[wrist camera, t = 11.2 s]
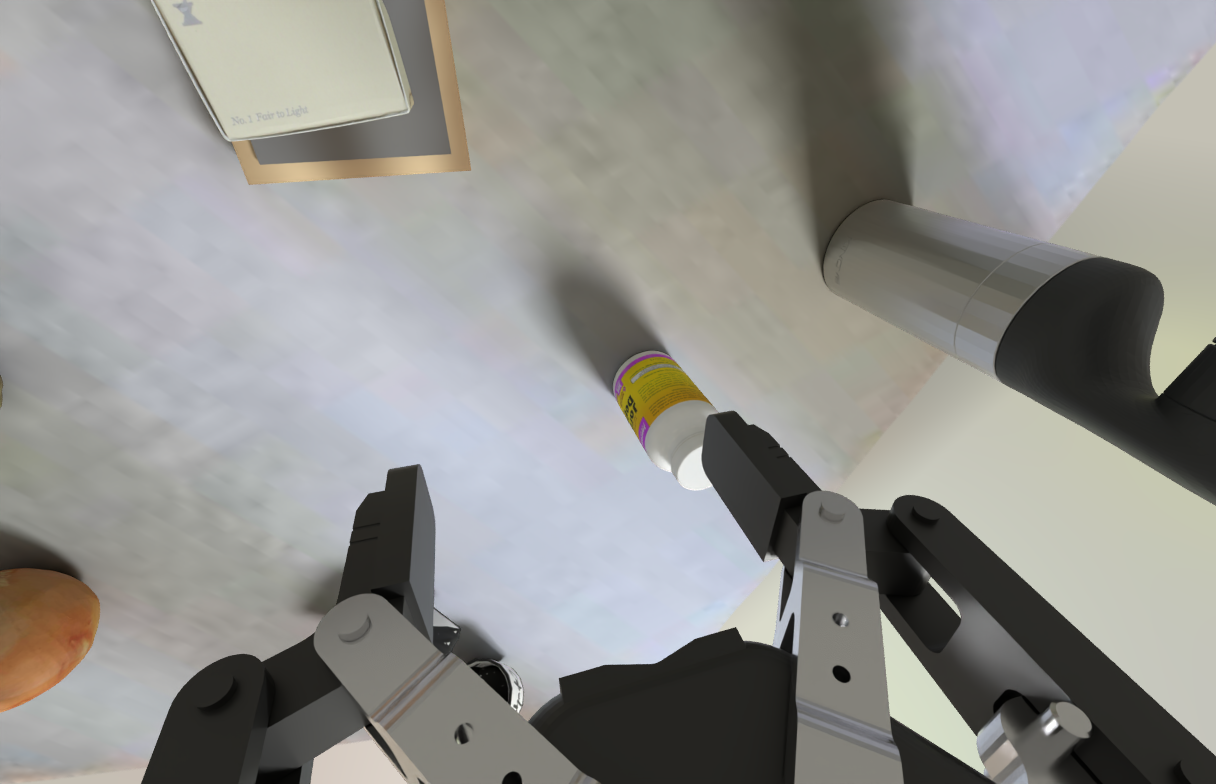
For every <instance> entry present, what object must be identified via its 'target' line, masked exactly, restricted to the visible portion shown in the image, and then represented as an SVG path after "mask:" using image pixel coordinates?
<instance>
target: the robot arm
mask: <svg viewBox="0 0 1216 784" xmlns="http://www.w3.org/2000/svg"><path fill="white" fill-rule="evenodd" d="M823 269H824V278H825V281H826V284H827V286H828V287H829V289H830V290H831V291H832V292H833V293H835V294H836V295H838V296H840V297H842V298H844V299H845V300H847V301H849V302H851V303H853V304H855V305H857V306H859V307H860V308H862V309H864V310H866V311H868V312H869V313H871V314H873V315H875V316H877V317H879V318H881V319H883V320H884V321H886V322H888V323H890V324H892V325H894V326H896V327H898V328H899V329H901V330H903V331H905V332H907V333H909V334H911V335H913V336H914V337H916V338H918V339H920V340H922V341H924V342H926V343H928V344H929V345H931V346H933V347H935V348H937V349H939V350H941V351H943V352H944V353H946V354H948V355H950V356H952V357H954V358H956V359H958V360H959V361H961V362H963V363H966V364H968V365H970V366H971V367H973V368H975V369H977V370H979V371H981V372H982V373H984V374H986V375H988V376H990V377H992V378H994V379H996V380H997V381H999V382H1001V383H1003V384H1005V385H1007V386H1008V387H1010V388H1012V389H1014V390H1016V391H1018V392H1020V393H1022V394H1024V395H1026V396H1027V397H1030V398H1031V399H1033V400H1035V401H1036V402H1038V403H1040V404H1042V405H1043V406H1045V407H1047V408H1049V409H1051V410H1052V411H1054V412H1056V413H1058V414H1060V415H1062V416H1064V417H1065V418H1067V419H1069V420H1071V421H1073V422H1075V423H1077V424H1078V425H1080V426H1082V427H1084V428H1086V429H1087V430H1089V431H1091V432H1092V433H1094V434H1096V435H1097V436H1099V437H1101V438H1103V439H1104V440H1106V441H1108V442H1110V443H1111V444H1113V445H1115V446H1117V447H1118V448H1120V449H1121V450H1123V451H1125V452H1126V453H1128V454H1129V455H1131V456H1133V457H1135V458H1136V459H1138V460H1140V461H1141V462H1143V463H1144V464H1146V465H1148V466H1149V467H1151V468H1153V469H1154V470H1156V471H1158V472H1159V473H1161V474H1162V475H1164V476H1166V477H1167V478H1169V479H1171V480H1172V481H1174V482H1176V483H1177V484H1179V485H1181V486H1182V487H1184V488H1186V489H1187V490H1189V491H1191V492H1193V493H1194V494H1196V495H1198V496H1200V497H1202V498H1203V499H1205V500H1207V501H1209V502H1210V503H1212V504H1214V505H1216V344H1215V345H1213V344H1208V345H1207V346H1206V348H1205V349H1204V350H1203V351H1202V352H1201V353H1200V354H1199V355H1198V356H1197V357H1196V358H1195V359H1194V360H1193V361H1192V362H1191V363H1190V364H1189V365H1188V367H1186V369H1185V370H1184V371H1183V372H1182V373H1181V374H1180V375H1179V376H1178V377H1177V378H1176V379H1175V380H1174V381H1173V382H1172V383H1171V384H1170V385H1169V386H1168V388H1166V390H1165V391H1164V393H1162V394H1161V395H1160V396H1158V395H1157V394H1156V392H1155V390H1154V388H1153V386H1152V382H1151V377H1150V355H1151V349H1152V345H1153V341H1154V337H1155V334H1156V331H1157V328H1158V324H1159V320H1160V318H1161V315H1162V311H1163V305H1164V291H1163V287H1162V284H1161V282H1160V280H1158V278H1157V277H1156V276H1155V275H1154V274H1152V273H1151V272H1149V271H1147V270H1145V269H1143V268H1141V267H1138V266H1134V265H1131V264H1128V263H1124V262H1120V261H1116V260H1113V259H1109V258H1104V257H1101V256H1097V255H1093V254H1090V253H1086V252H1082V251H1079V250H1075V249H1071V248H1067V247H1063V246H1060V245H1056V244H1051V243H1048V242H1044V241H1040V240H1037V239H1033V238H1029V237H1025V236H1022V235H1018V234H1014V233H1010V232H1007V231H1003V230H999V229H995V228H992V227H988V226H984V225H980V224H977V223H973V222H969V221H966V220H962V219H958V218H954V217H951V216H947V215H943V214H939V213H936V212H932V211H929V210H925V209H922V208H918V207H914V206H910V205H906V204H903V203H899V202H895V201H891V200H886V199H884V200H876V201H873V202H870V203H867V204H865V205H863V206H862V207H860V208H858V209H857V210H855V211H854V212H853V213H852V214H851V215H849V216H848V217H847V218H846V219H845V221H844V222H843V223H842V224H841V225H840V226H839V228H838V229H837V231H836V232H835V234H834V235H833V237H832V239H831V241H830V243H829V245H828V248H827V251H826V254H825V259H824V265H823ZM1213 342H1214V343H1216V337H1215V338H1214V339H1213ZM701 460H702V466H703V469H704V472H705V474H706V476H707V478H708V479H709V481H710V482H711V484H712V485H713V487H714V488H715V490H716V491H717V493H718V494H719V496H720V497H721V499H722V500H723V502H724V503H725V505H726V506H727V508H728V509H729V511H730V512H731V514H732V515H733V517H734V518H735V520H736V521H737V523H738V524H739V526H740V527H741V529H742V530H743V532H744V533H745V535H746V536H747V538H748V539H749V541H750V542H751V544H752V545H753V547H754V548H755V550H756V552H757V553H758V555H759V556H760V558H761V559H762V561H763V562H767V561H771V560H775V559H780V561H781V562H782V563H783V568H782V572H781V581H780V592H779V601H778V611H777V620H776V630H775V636H774V642H773V646H771V645H767V644H763V643H759V642H752V641H743V640H742V638H741V636H740V634H739V632H738V630H737V629H736V627H735V628H731V629H728V630H725V631H721V632H718V633H714V634H711V635H707V636H704V637H700V638H697V639H694V640H693V641H691V642H690V643H688V644H687V645H685V646H683V647H682V648H680V649H679V650H677V651H676V652H674V653H673V654H671V655H669V656H668V657H666V658H665V659H663V660H662V661H660V662H658V663H655V664H631V665H603V666H600V667H596V668H593V669H590V670H586V671H583V672H579V673H576V674H572V675H569V676H565V677H562V678H559V684H560V694H559V695H557V696H555V697H554V698H552V699H551V700H550V701H548V702H547V703H546V704H545V705H543V706H542V707H541V708H540V709H539V710H538V711H537V712H536V713H535V714H534V715H533V716H532V717H531V719H530V720H529V721H528V722H527V721H526V720H525V719H524V718H523V717H522V716H521V715H520V714H519V713H518V712H517V711H516V710H515V709H514V708H512V707H511V706H510V705H509V704H508V703H507V702H506V701H505V700H504V699H503V698H502V697H501V696H500V695H499V694H498V693H496V692H495V691H494V690H493V689H492V688H491V687H490V686H489V685H488V684H487V683H486V682H485V681H484V680H483V679H482V678H481V677H479V676H478V675H477V674H476V673H475V672H474V671H473V670H472V669H471V668H470V667H469V666H468V665H467V664H466V663H465V662H463V661H462V660H461V659H460V658H459V657H458V656H456V655H455V654H453V653H451V652H448V653H447V654H446V655H445V654H443V653H442V652H440V651H439V650H438V649H437V648H436V647H435V646H434V645H433V614H434V570H435V518H434V511H433V506H432V503H431V499H430V495H429V492H428V488H427V485H426V481H425V477H424V474H423V470H422V467H421V465H420V464H417V465H411V466H406V467H400V468H394V469H389V470H388V474H387V480H386V487H385V491H381V492H375V493H370V494H368V495H367V497H366V498H365V499H364V501H363V502H362V503H361V505H360V506H359V508H358V509H357V510H356V515H355V519H354V524H353V531H352V534H351V539H350V546H349V548H348V553H347V558H346V563H345V567H344V572H343V577H342V582H341V586H340V591H339V596H338V600H337V604H336V606H334V607H333V608H332V609H331V610H330V611H329V612H328V613H327V614H326V615H325V616H324V617H323V619H322V620H321V621H320V623H319V625H318V627H317V629H316V631H315V633H313V634H312V635H311V636H309V637H308V638H306V639H305V640H303V641H302V642H300V643H298V644H296V645H294V646H292V647H290V648H288V649H286V650H284V651H283V652H281V653H279V654H277V655H275V656H273V657H271V658H269V659H267V660H265V661H263V662H261V661H260V660H259V659H258V658H256V657H255V656H252V655H248V654H237V655H232V656H228V657H225V658H223V659H220V660H218V661H216V662H214V663H212V664H210V665H209V666H207V667H205V668H204V669H203V670H201V671H200V672H198V673H197V674H196V675H195V676H194V677H193V678H191V679H190V680H189V681H188V682H187V683H186V684H185V685H184V686H183V688H182V689H181V690H180V692H179V693H178V694H177V696H176V697H175V699H174V700H173V702H172V705H171V707H170V709H169V711H168V714H167V717H166V719H165V722H164V725H163V727H162V730H161V733H160V735H159V738H158V740H157V743H156V746H155V748H154V751H153V754H152V756H151V759H150V761H149V764H148V767H147V769H146V772H145V775H144V778H143V780H142V783H141V784H310V782H311V773H312V767H313V760H314V758H315V757H317V756H318V755H320V754H321V753H323V752H325V751H326V750H328V749H329V748H331V747H333V746H334V745H336V744H337V743H339V742H341V741H342V740H344V739H345V738H347V737H349V736H350V735H352V734H354V733H355V732H357V731H358V730H360V729H362V728H364V730H365V731H366V732H367V733H368V735H369V736H370V737H371V738H372V740H373V741H374V742H375V743H376V745H377V746H378V747H379V748H380V750H381V751H382V752H383V753H384V755H385V756H386V757H387V758H388V759H389V761H390V762H391V763H392V764H393V766H394V767H395V768H396V770H397V771H398V772H399V773H400V775H401V776H402V777H403V778H404V780H405V781H406V782H407V783H408V784H1216V756H1215V755H1214V754H1213V753H1212V752H1211V751H1209V750H1208V749H1207V748H1206V747H1205V746H1204V745H1203V744H1202V743H1201V742H1200V741H1199V740H1197V739H1196V738H1195V737H1194V736H1193V735H1192V734H1191V733H1190V732H1189V731H1188V730H1187V729H1185V728H1184V727H1183V726H1182V725H1181V724H1180V723H1179V722H1178V721H1177V720H1176V719H1175V718H1173V717H1172V716H1171V715H1170V714H1169V713H1168V712H1167V711H1166V710H1165V709H1164V708H1163V707H1162V706H1160V705H1159V704H1158V703H1157V702H1156V701H1155V700H1154V699H1153V698H1152V697H1151V696H1150V695H1148V694H1147V693H1146V692H1145V691H1144V690H1143V689H1142V688H1141V687H1140V686H1139V685H1138V684H1137V683H1135V682H1134V681H1133V680H1132V679H1131V678H1130V677H1129V676H1128V675H1127V674H1126V673H1124V672H1123V671H1122V670H1121V669H1120V668H1119V667H1118V666H1117V665H1116V664H1115V663H1114V662H1113V661H1111V660H1110V659H1109V658H1108V657H1107V656H1106V655H1105V654H1104V653H1102V651H1101V650H1100V649H1098V648H1097V647H1096V646H1095V645H1094V644H1093V643H1092V642H1091V641H1090V640H1089V639H1088V638H1086V637H1085V636H1084V635H1083V634H1082V633H1081V632H1080V631H1079V630H1078V629H1077V628H1076V627H1075V626H1073V625H1072V624H1071V623H1070V622H1069V621H1068V620H1067V619H1066V618H1065V617H1064V616H1063V615H1061V614H1060V613H1059V612H1058V611H1057V610H1056V609H1055V608H1054V607H1053V606H1052V605H1051V604H1049V603H1048V602H1047V601H1046V600H1045V599H1044V598H1043V597H1042V596H1041V595H1040V594H1039V593H1038V592H1036V591H1035V590H1034V589H1033V588H1032V587H1031V586H1030V585H1029V584H1028V583H1027V582H1025V581H1024V580H1023V579H1022V578H1021V577H1020V576H1019V575H1018V574H1017V573H1016V572H1015V571H1014V570H1012V569H1011V568H1010V567H1009V566H1008V565H1007V564H1006V563H1005V562H1004V561H1003V560H1002V559H1000V558H999V557H998V556H997V555H996V554H995V553H994V552H993V551H992V550H991V549H990V548H989V547H987V546H986V545H985V544H984V543H983V542H982V541H981V540H980V539H978V537H977V536H975V535H974V534H973V533H972V532H971V531H970V530H969V529H968V528H967V527H966V526H965V525H963V524H962V523H961V522H960V521H959V520H958V519H957V518H956V517H955V516H954V515H953V514H952V513H950V512H949V511H948V510H947V509H946V508H945V507H943V506H941V505H940V504H938V503H936V502H934V501H932V500H930V499H927V498H924V497H920V496H915V495H905V496H901V497H899V498H897V499H896V500H895V501H894V503H893V505H892V508H891V510H875V509H859V508H858V507H857V506H856V505H855V504H854V503H853V502H852V501H851V500H849V499H847V498H846V497H844V496H842V495H840V494H837V493H834V492H830V491H822V490H821V489H820V488H819V487H818V486H817V485H816V484H815V483H814V482H813V481H812V480H811V478H810V477H809V476H808V475H807V474H806V473H805V472H804V471H803V470H802V469H801V468H800V467H799V465H798V464H797V463H796V462H795V461H794V460H793V459H792V458H791V457H789V456H788V454H787V452H786V451H785V450H784V449H783V448H780V445H779V444H778V443H777V442H776V441H775V439H774V438H773V437H772V436H771V435H770V434H769V433H767V432H766V431H764V430H762V429H760V428H759V427H757V426H755V425H754V424H752V425H747V423H746V422H745V421H744V420H743V419H742V418H741V417H740V416H739V414H738V413H737V412H735V411H728V412H722V413H716V414H710V415H709V416H708V417H707V419H706V425H705V432H704V439H703V447H702V454H701ZM930 577H932V578H933V579H934V580H935V581H936V582H937V584H938V585H939V586H940V587H941V588H942V589H943V590H944V591H945V592H946V593H947V595H948V596H949V597H950V598H951V599H952V600H953V601H954V602H955V604H956V605H957V607H958V609H959V611H960V615H961V618H960V617H959V616H958V615H957V614H956V613H955V611H954V610H953V609H952V608H951V607H950V606H949V605H948V604H947V603H946V601H945V600H944V599H943V598H942V597H941V596H940V595H939V593H938V592H937V591H936V590H935V589H934V588H933V587H932V586H931V585H930V583H929V582H928V581H929V579H930ZM880 609H881V610H882V612H883V613H884V614H885V616H886V617H887V618H888V620H889V621H890V622H891V624H892V625H893V626H894V628H895V629H896V630H897V632H898V633H899V634H900V636H901V637H902V638H903V640H904V641H905V642H906V644H907V645H908V646H909V647H910V649H911V650H912V651H913V653H914V654H915V655H916V656H917V658H918V659H919V661H920V662H921V663H922V665H923V666H924V667H925V669H926V670H927V671H928V673H929V674H930V675H931V677H932V678H933V679H934V680H935V682H936V683H937V685H938V686H939V687H940V688H941V690H942V691H943V692H944V694H945V695H946V696H947V698H948V699H949V700H950V702H951V703H952V704H953V706H954V707H955V708H956V710H957V711H958V712H959V714H960V715H961V716H962V718H963V719H964V720H965V722H966V723H967V724H968V726H969V727H970V728H971V730H972V731H973V732H974V734H975V735H976V736H977V749H978V753H979V756H980V758H981V760H982V762H983V764H984V766H985V769H984V775H983V774H981V773H979V772H978V771H976V770H975V769H973V768H972V767H970V766H968V765H967V764H965V763H964V762H962V761H961V760H959V759H957V758H956V757H954V756H953V755H951V754H949V753H948V752H946V751H945V750H943V749H941V748H940V747H938V746H937V745H935V744H934V743H932V742H930V741H929V740H927V739H926V738H924V737H922V736H920V735H919V734H918V733H916V732H914V731H913V730H911V729H910V728H908V727H906V726H905V725H903V724H902V723H900V722H898V721H897V720H895V719H894V718H892V717H891V716H890V714H889V713H890V712H889V702H888V691H887V680H886V669H885V658H884V647H883V636H882V626H881V614H880Z"/></svg>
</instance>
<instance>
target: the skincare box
mask: <svg viewBox="0 0 1216 784" xmlns="http://www.w3.org/2000/svg"><path fill="white" fill-rule="evenodd" d="M151 2H152V4H153V6H154V9H155V11H156V13H157V14H158V16H159V18H160V20H161V22H162V24H163V26H164V28H165V30H166V32H167V34H168V36H169V38H170V40H171V41H172V44H173V46H174V48H175V50H176V51H177V53H178V55H179V57H180V59H181V61H182V63H183V65H184V67H185V69H186V70H187V72H188V74H189V76H190V78H191V80H192V82H193V84H194V86H195V88H196V90H197V91H198V93H199V95H200V97H201V99H202V101H203V103H204V104H205V106H206V108H207V110H208V111H209V113H210V115H211V117H212V118H213V120H214V122H215V124H216V126H217V127H218V129H219V131H220V133H221V135H222V136H223V137H224V139H226V140H227V141H243V140H253V139H262V138H270V137H277V136H284V135H291V134H298V133H304V132H310V131H316V130H322V129H329V128H335V127H341V126H346V125H352V124H357V123H362V122H368V121H373V120H378V119H384V118H389V117H393V116H398V115H404V114H407V113H409V112H410V110H411V108H412V106H413V105H414V100H413V97H412V93H411V90H410V86H409V82H408V79H407V75H406V72H405V68H404V65H403V62H402V58H401V55H400V51H399V48H398V44H397V41H396V38H395V34H394V31H393V28H392V25H391V22H390V18H389V15H388V13H387V10H386V8H385V6H384V4H383V1H382V0H151Z"/></svg>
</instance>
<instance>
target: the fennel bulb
mask: <svg viewBox="0 0 1216 784" xmlns="http://www.w3.org/2000/svg"><path fill="white" fill-rule="evenodd" d="M2 388H3V382H2V377H1V375H0V408H1V406H2Z"/></svg>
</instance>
